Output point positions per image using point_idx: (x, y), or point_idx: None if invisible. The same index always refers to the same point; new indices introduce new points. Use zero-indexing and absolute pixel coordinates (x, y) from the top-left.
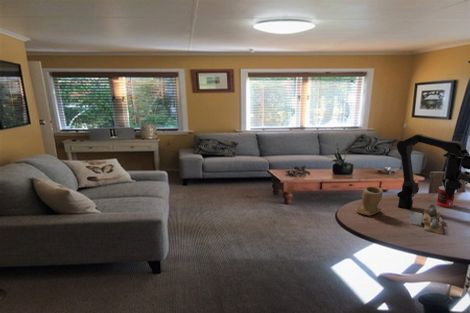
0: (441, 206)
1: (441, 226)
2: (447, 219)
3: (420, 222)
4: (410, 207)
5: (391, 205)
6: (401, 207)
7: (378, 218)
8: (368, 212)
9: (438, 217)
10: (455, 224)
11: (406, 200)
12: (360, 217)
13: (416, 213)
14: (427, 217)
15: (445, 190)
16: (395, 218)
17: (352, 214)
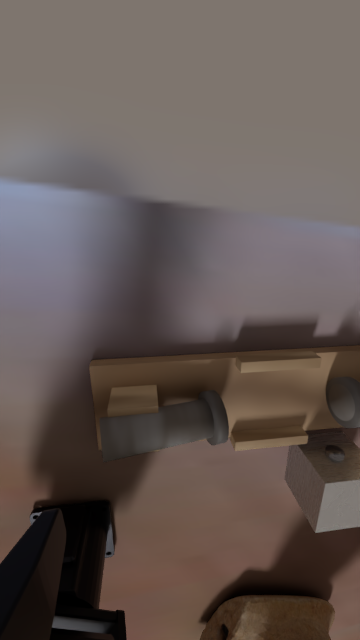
0: None
1: (352, 354)
2: (163, 314)
3: (354, 448)
4: (89, 511)
5: None
6: (113, 540)
7: (325, 568)
8: (330, 622)
9: (198, 370)
10: (238, 271)
11: (98, 588)
12: (341, 609)
13: (344, 505)
14: (234, 422)
15: (54, 609)
16: (294, 525)
17: None
